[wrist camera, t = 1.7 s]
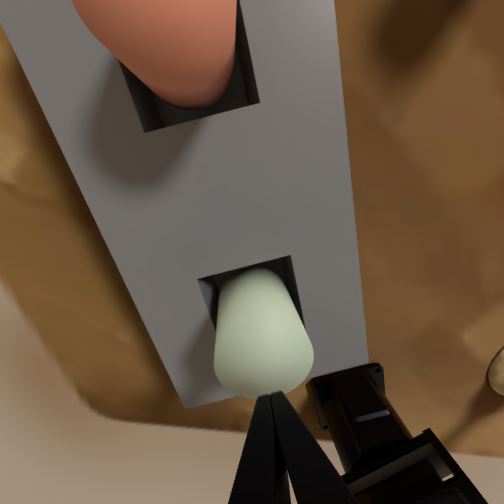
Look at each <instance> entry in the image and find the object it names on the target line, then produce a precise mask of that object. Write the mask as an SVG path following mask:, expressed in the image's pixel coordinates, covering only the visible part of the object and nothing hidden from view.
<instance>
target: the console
mask: <svg viewBox="0 0 504 504" xmlns="http://www.w3.org/2000/svg"><path fill="white" fill-rule="evenodd" d="M0 22H1V24H2V26H3V28H4V31H5V33H6V35H7V37H8V39H9V41H10V43H11V45H12V47H13V49H14V52H15V54H16V56H17V58H18V60H19V62H20V64H21V66H22V68H23V70H24V72H25V75H26V77H27V79H28V81H29V83H30V85H31V87H32V89H33V91H34V93H35V96H36V98H37V100H38V102H39V104H40V106H41V108H42V110H43V112H44V114H45V117H46V119H47V121H48V123H49V125H50V127H51V129H52V131H53V133H54V135H55V137H56V140H57V142H58V144H59V146H60V148H61V150H62V152H63V154H64V156H65V158H66V161H67V163H68V165H69V167H70V169H71V171H72V173H73V175H74V177H75V179H76V181H77V184H78V186H79V188H80V190H81V192H82V194H83V196H84V198H85V200H86V202H87V205H88V207H89V209H90V211H91V213H92V215H93V217H94V219H95V221H96V223H97V226H98V228H99V230H100V232H101V234H102V236H103V238H104V240H105V242H106V244H107V246H108V249H109V251H110V253H111V255H112V257H113V259H114V261H115V263H116V265H117V267H118V270H119V272H120V274H121V276H122V278H123V280H124V282H125V284H126V286H127V288H128V291H129V293H130V295H131V297H132V299H133V301H134V303H135V305H136V307H137V309H138V311H139V314H140V316H141V318H142V320H143V322H144V324H145V326H146V328H147V330H148V332H149V335H150V337H151V339H152V341H153V343H154V345H155V347H156V349H157V351H158V353H159V355H160V358H161V360H162V362H163V364H164V366H165V368H166V370H167V372H168V374H169V376H170V379H171V381H172V383H173V385H174V387H175V389H176V391H177V393H178V395H179V397H180V400H181V402H182V404H183V406H184V408H185V409H189V408H193V407H197V406H201V405H205V404H209V403H213V402H217V401H221V400H225V399H228V398H232V397H236V396H238V395H235V394H233V393H232V392H230V391H228V390H227V389H226V388H225V387H224V386H223V385H222V384H221V383H220V381H219V380H218V378H217V376H216V374H215V370H214V352H215V340H216V328H217V316H218V304H219V294H220V290H221V287H222V285H223V283H224V282H225V280H226V279H227V278H228V277H229V276H230V275H231V274H233V273H234V272H236V271H238V270H240V269H243V268H247V267H262V268H266V269H269V270H271V271H273V272H274V273H276V274H277V275H278V276H279V277H280V278H281V279H282V281H283V282H284V284H285V286H286V289H287V291H288V293H289V295H290V297H291V300H292V302H293V304H294V306H295V309H296V311H297V313H298V315H299V317H300V320H301V322H302V324H303V326H304V328H305V331H306V333H307V335H308V337H309V340H310V342H311V344H312V347H313V352H314V360H313V365H312V367H311V370H310V372H309V374H308V375H307V377H306V378H305V379H307V378H311V377H314V376H318V375H322V374H326V373H330V372H334V371H338V370H342V369H346V368H350V367H354V366H358V365H361V364H365V363H369V359H368V349H367V339H366V328H365V318H364V307H363V297H362V287H361V276H360V266H359V256H358V245H357V235H356V224H355V214H354V204H353V193H352V183H351V173H350V162H349V152H348V141H347V131H346V121H345V110H344V100H343V90H342V79H341V69H340V58H339V48H338V38H337V27H336V17H335V7H334V0H237V4H236V30H235V56H234V70H233V75H232V78H231V82H230V84H229V86H228V88H227V90H226V91H225V93H224V94H223V96H222V97H221V98H220V99H219V100H218V101H217V102H215V103H214V104H213V105H211V106H209V107H207V108H204V109H202V110H196V111H187V110H181V109H177V108H175V107H173V106H171V105H169V104H167V103H165V102H164V101H163V100H161V99H160V98H159V97H158V96H157V95H156V94H155V93H154V92H153V91H152V90H151V89H150V88H148V87H147V86H146V85H145V84H144V83H143V82H142V81H141V80H140V79H139V78H138V77H137V76H136V75H135V74H134V73H132V72H131V71H130V70H129V69H128V68H127V67H126V66H125V65H124V64H123V63H122V62H121V61H120V60H119V59H118V58H116V57H115V56H114V55H113V54H112V53H111V52H110V51H109V50H108V49H107V48H106V47H105V46H104V45H103V44H102V43H101V42H99V41H98V40H97V39H96V37H95V36H94V35H93V34H92V33H91V32H90V30H89V29H88V28H87V26H86V25H85V23H84V22H83V21H82V19H81V18H80V16H79V14H78V13H77V11H76V9H75V7H74V5H73V3H72V1H71V0H0Z"/></svg>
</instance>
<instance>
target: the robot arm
mask: <svg viewBox="0 0 504 504" xmlns="http://www.w3.org/2000/svg"><path fill="white" fill-rule="evenodd" d="M311 386H312V391H313V396H314V401H315V405H316V410H317V415H318V420H319V424H320V427H321V430H323V431H327V430H329V431H330V434H331V436H332V439H333V442H334V444H335V447H336V450H337V452H338V455H339V458H340V460H341V463H342V466H343V468H344V471H345V474H344V475H342V476H340V475H339V473H338V472H337V470H336V469H335V467H334V466H333V464H332V463H331V461H330V460H329V459H328V457H327V456H326V454H325V453H324V451H323V450H322V448H321V447H320V445H319V444H318V442H317V441H316V440H315V438H314V437H313V435H312V434H311V432H310V431H309V429H308V428H307V426H306V425H305V423H304V422H303V420H302V419H301V418H300V416H299V415H298V413H297V412H296V410H295V409H294V407H293V406H292V404H291V403H290V401H289V400H288V398H287V397H286V396H285V394H284V393H283V391H281V390H279V391H276V392H272V393H271V394H264V395H260V396H258V398H257V400H256V404H255V408H254V411H253V415H252V419H251V422H250V426H249V429H248V433H247V437H246V441H245V444H244V447H243V451H242V455H241V458H240V462H239V466H238V469H237V473H236V477H235V480H234V484H233V487H232V491H231V495H230V498H229V502H228V504H291V500H290V490H289V481H288V474H289V477H290V480H291V484H292V487H293V490H294V493H295V497H296V500H297V503H298V504H488V503H487V501H486V500H485V499H484V498H483V497H482V495H481V494H480V492H479V491H478V490H477V488H476V487H475V486H474V485H473V483H472V482H471V481H470V479H469V478H468V477H467V476H466V474H465V473H464V472H463V471H462V469H461V468H460V467H459V465H458V464H457V463H456V461H455V460H454V459H453V458H452V456H451V455H450V454H449V452H448V451H447V450H446V448H445V447H444V446H443V445H442V443H441V442H440V441H439V439H438V438H437V437H436V436H435V434H434V433H433V432H432V430H431V429H430V428H428V429H426V430H424V431H423V433H422V434H420V435H418V436H416V437H414V438H413V436H412V435H411V433H410V432H409V430H408V429H407V427H406V426H405V424H404V423H403V421H402V420H401V419H400V417H399V416H398V414H397V413H396V411H395V410H394V408H393V407H392V405H391V404H390V402H389V401H388V399H387V398H386V396H385V386H384V371H383V367H382V366H381V365H380V364H379V363H373V364H369V365H365V366H361V367H357V368H353V369H350V370H346V371H342V372H338V373H334V374H330V375H326V376H322V377H318V378H315V379H313V380H312V381H311ZM287 471H288V473H287ZM450 474H452V475H453V476H454V477H452V478H450V479H447V480H445V481H443V480H442V478H444V477H446V476H448V475H450Z"/></svg>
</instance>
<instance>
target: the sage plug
mask: <svg viewBox="0 0 504 504" xmlns="http://www.w3.org/2000/svg"><path fill="white" fill-rule="evenodd" d="M313 360H314V352H313V347H312V344H311V342H310V340H309V337H308V335H307V333H306V331H305V328H304V326H303V324H302V322H301V320H300V317H299V315H298V313H297V311H296V309H295V306H294V304H293V302H292V300H291V297H290V295H289V293H288V291H287V289H286V286H285V284H284V282H283V281H282V279H281V278H280V277H279V276H278V275H277V274H276V273H274V272H273V271H271V270H269V269H266V268H262V267H247V268H243V269H240V270H238V271H236V272H234V273H233V274H231V275H230V276H229V277H228V278H227V279H226V280H225V282H224V283H223V285H222V287H221V290H220V294H219V304H218V316H217V328H216V340H215V352H214V370H215V374H216V376H217V378H218V380H219V381H220V383H221V384H222V385H223V386H224V387H225V388H226V389H227V390H228V391H230V392H232V393H233V394H235V395H238V396H240V397H243V398H248V399H256V400H257V398H258V396H260V395H264V394H271V393H272V392H276V391H279V390H281V391H283V393H284V394H286V393H288V392H290V391H292V390H293V389H295V388H296V387H297V386H298V385H300V384H301V383H302V382H303V381H304V380H305V378H306V377H307V375H308V374H309V372H310V370H311V367H312V365H313Z"/></svg>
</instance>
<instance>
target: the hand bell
mask: <svg viewBox="0 0 504 504" xmlns="http://www.w3.org/2000/svg"><path fill="white" fill-rule="evenodd" d="M488 380H489V384H490V386H491V387H492V389H493V390H494V391H496V392H497V393H499V394H501V395H503V396H504V347H503V348H502V349H501V350H500V352H499V353H498V354H497V355H496V357H495V358H494V360H493V361H492V363H491V365H490V368H489V372H488Z"/></svg>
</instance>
